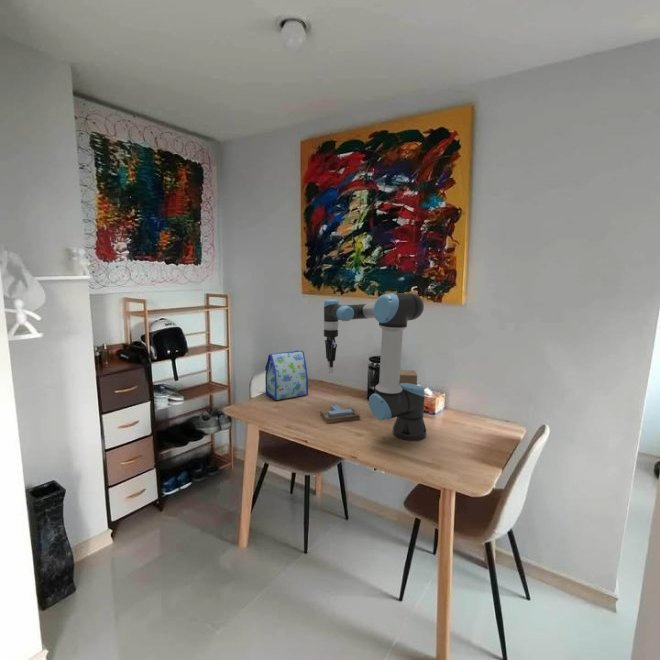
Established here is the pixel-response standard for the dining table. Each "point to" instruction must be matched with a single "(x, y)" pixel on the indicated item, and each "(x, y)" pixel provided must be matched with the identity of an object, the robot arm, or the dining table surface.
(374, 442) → the dining table surface
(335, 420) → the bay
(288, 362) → the lunch bag
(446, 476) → the dining table surface
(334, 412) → the tee
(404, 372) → the wooden block
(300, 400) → the dining table surface
